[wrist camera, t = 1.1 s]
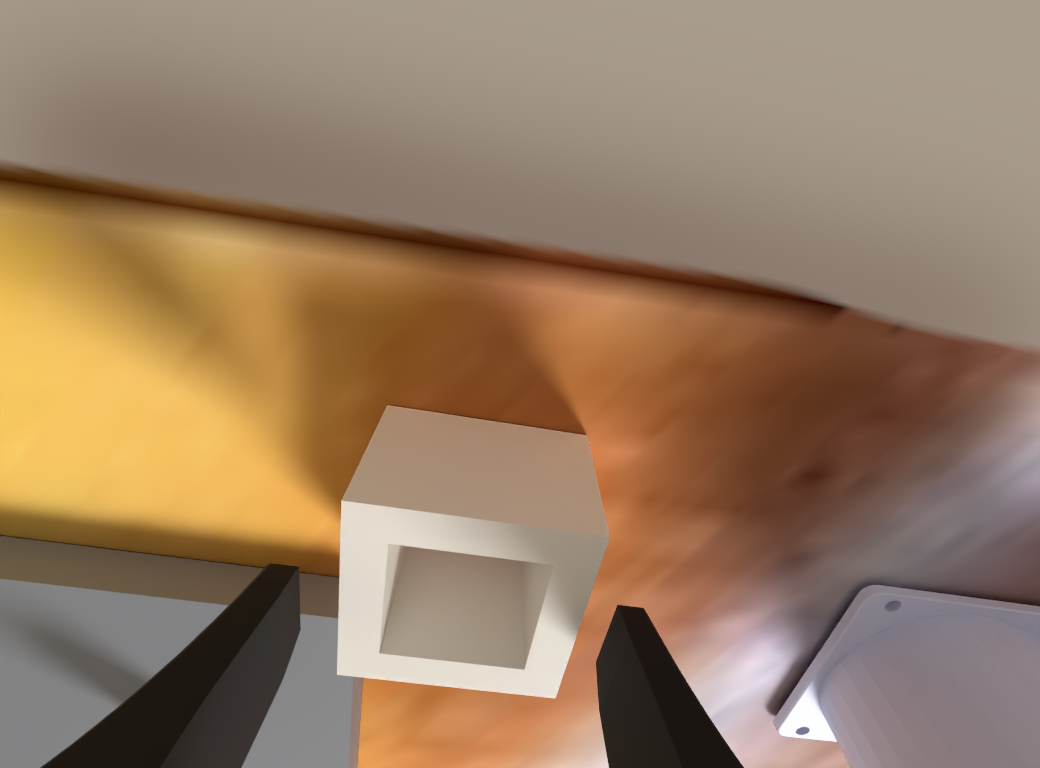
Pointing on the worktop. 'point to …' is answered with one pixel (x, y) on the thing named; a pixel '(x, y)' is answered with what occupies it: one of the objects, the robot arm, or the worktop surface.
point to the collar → (467, 553)
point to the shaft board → (150, 650)
